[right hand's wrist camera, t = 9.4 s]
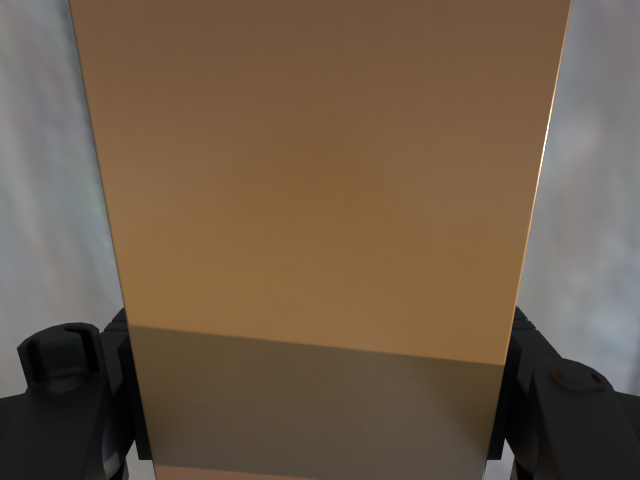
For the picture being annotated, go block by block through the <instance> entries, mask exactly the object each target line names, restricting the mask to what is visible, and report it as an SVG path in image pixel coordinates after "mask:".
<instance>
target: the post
mask: <svg viewBox="0 0 640 480" xmlns="http://www.w3.org/2000/svg"><path fill="white" fill-rule="evenodd" d="M572 1H573V0H68V3H69V8H70V13H71V19H72V24H73V30H74V35H75V41H76V46H77V52H78V57H79V63H80V68H81V74H82V79H83V85H84V90H85V95H86V101H87V106H88V112H89V117H90V123H91V128H92V134H93V139H94V145H95V150H96V156H97V161H98V166H99V172H100V177H101V183H102V188H103V194H104V199H105V205H106V210H107V216H108V221H109V227H110V232H111V238H112V243H113V248H114V254H115V259H116V265H117V270H118V276H119V281H120V287H121V292H122V298H123V303H124V309H125V314H126V319H127V325H128V330H129V336H130V341H131V347H132V352H133V358H134V363H135V369H136V374H137V380H138V385H139V391H140V396H141V401H142V407H143V412H144V418H145V423H146V429H147V434H148V440H149V445H150V451H151V456H152V462H153V467H154V473H155V478H156V480H483V479H484V474H485V469H486V463H487V458H488V453H489V447H490V442H491V436H492V431H493V426H494V420H495V415H496V409H497V404H498V399H499V393H500V388H501V383H502V377H503V372H504V366H505V361H506V356H507V350H508V345H509V340H510V334H511V329H512V323H513V318H514V313H515V307H516V302H517V297H518V291H519V286H520V280H521V275H522V270H523V264H524V259H525V253H526V248H527V243H528V237H529V232H530V227H531V221H532V216H533V210H534V205H535V200H536V194H537V189H538V184H539V178H540V173H541V167H542V162H543V157H544V151H545V146H546V141H547V135H548V130H549V124H550V119H551V114H552V108H553V103H554V97H555V92H556V87H557V81H558V76H559V71H560V65H561V60H562V54H563V49H564V44H565V38H566V33H567V28H568V22H569V17H570V11H571V6H572Z"/></svg>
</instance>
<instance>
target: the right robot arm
mask: <svg viewBox="0 0 640 480" xmlns="http://www.w3.org/2000/svg"><path fill="white" fill-rule="evenodd" d="M17 351H18V354H19V358H20V361H21V364H22V368H23V371H24V375H25V378H26V382H27V385H28V388H27V390H26V392H25V393H23V394H19V395H15V396H10V397H5V398H0V480H128V478H129V473H128V467H127V462H126V455H127V453H128V452H129V450H130V448H131V446H132V444H133V442H134V440H135V442H136V447H137V453H138V458H139V460H152V456H151V451H150V445H149V440H148V434H147V429H146V423H145V418H144V412H143V407H142V401H141V396H140V391H139V385H138V380H137V374H136V369H135V363H134V358H133V352H132V347H131V341H130V336H129V330H128V325H127V319H126V314H125V309H124V308H122V309H121V310H120V311H119V313H118V314H117V315H116V316H115V317H114V318H113V320H112V322H110V323H109V324H108V325H107V327H106V328H105V329H104V332H101V334H100V333H99V329H98V328H97V327H95V326H94V325H92V324H87V323H82V322H79V323H66V324H61V325H57V326H52V327H50V328H47V329H45V330H42V331H39V332H37V333H35V334H34V335H32V336H30V337H29V338H27V339H25V340H24V341H23V342H22V343H21V344H20V345H19V346H18V347H17ZM505 438H506V440H507V442H508V444H509V446H510V448H511V450H512V452H513V454H514V456H515V457H514V462H513V467H512V471H511V476H510V480H640V396H635V395H630V394H625V393H620V392H616V391H614V389H613V387H612V385H611V384H610V383H609V382H608V380H607V379H606V378H605V377H604V376H603V375H601V374H600V373H599V372H597V371H596V370H594V369H593V368H591V367H588V366H586V365H584V364H582V363H580V362H576V361H572V360H568V359H564V358H562V357H561V356H560V355H559V354H558V353H557V351H556V350H555V349H554V348H553V347H552V346H551V345H550V343H549V342H548V341H547V340H546V339H545V338H544V337H543V335H542V334H541V333H540V332H539V331H538V330H536V327H535V326H534V325H533V324H532V323H531V322H530V321H528V318H527V317H526V316H525V315H524V313H523V312H522V311H521V310H520V309H519V308H518V307H517V306H516V307H515V313H514V318H513V323H512V329H511V334H510V340H509V345H508V350H507V356H506V361H505V366H504V372H503V377H502V383H501V388H500V393H499V399H498V404H497V409H496V415H495V420H494V426H493V431H492V436H491V442H490V447H489V453H488V458H487V460H501V456H502V451H503V446H504V441H505Z"/></svg>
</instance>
